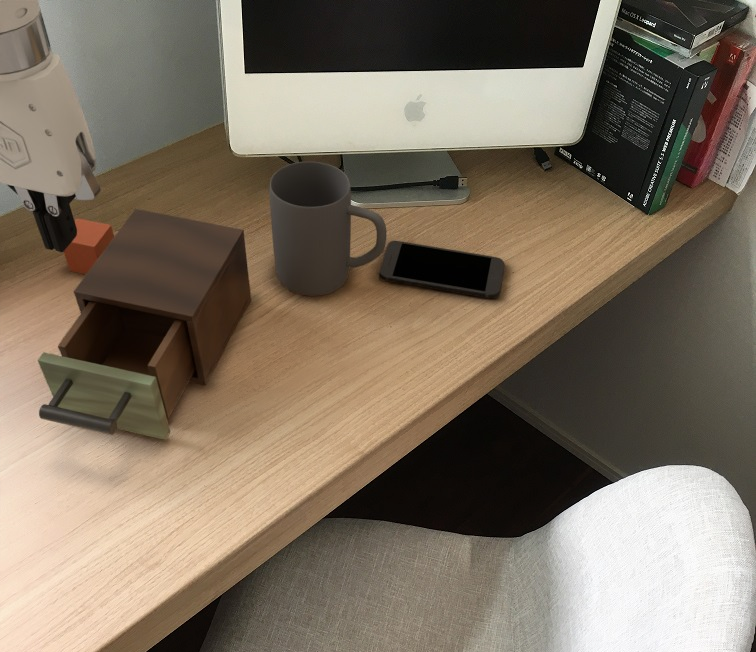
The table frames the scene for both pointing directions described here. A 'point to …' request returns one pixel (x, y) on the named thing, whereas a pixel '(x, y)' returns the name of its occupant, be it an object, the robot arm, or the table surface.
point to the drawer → (118, 371)
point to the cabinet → (176, 278)
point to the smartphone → (442, 269)
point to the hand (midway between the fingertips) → (62, 242)
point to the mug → (316, 228)
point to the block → (87, 245)
